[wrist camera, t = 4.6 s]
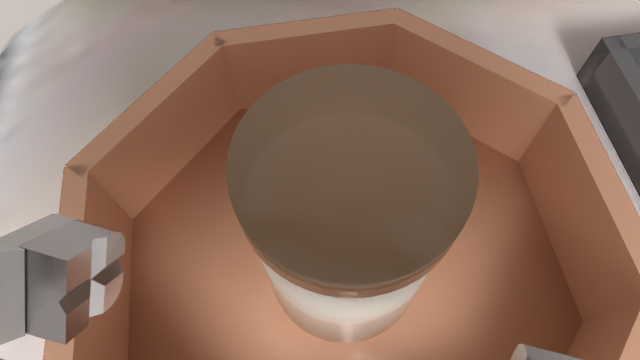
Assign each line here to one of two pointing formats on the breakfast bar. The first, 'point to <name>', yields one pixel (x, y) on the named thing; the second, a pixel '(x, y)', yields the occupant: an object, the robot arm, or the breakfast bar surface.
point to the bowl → (440, 283)
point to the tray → (617, 95)
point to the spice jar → (350, 193)
